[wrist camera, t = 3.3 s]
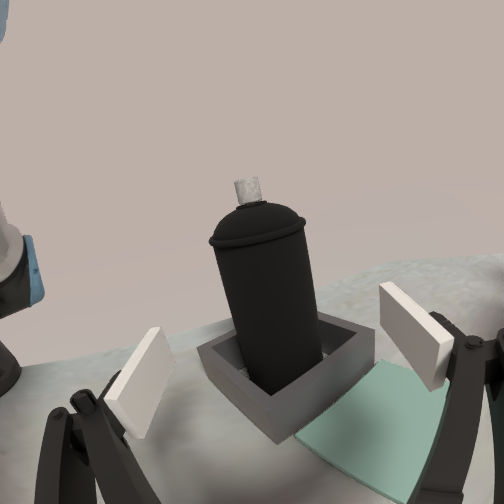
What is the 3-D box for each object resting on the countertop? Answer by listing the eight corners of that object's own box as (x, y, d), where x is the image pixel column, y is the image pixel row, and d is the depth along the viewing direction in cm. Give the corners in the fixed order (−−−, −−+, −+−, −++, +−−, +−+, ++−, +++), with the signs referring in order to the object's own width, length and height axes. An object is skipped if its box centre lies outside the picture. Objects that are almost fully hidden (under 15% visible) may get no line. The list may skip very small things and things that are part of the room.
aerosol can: (316, 407, 21) (275, 170, 16) (236, 397, 25) (175, 195, 20) (333, 354, 28) (305, 167, 23) (267, 351, 32) (227, 184, 27)
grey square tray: (208, 378, 29) (196, 347, 28) (293, 331, 35) (288, 301, 34) (277, 444, 18) (267, 412, 17) (374, 364, 24) (374, 329, 23)
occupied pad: (295, 438, 18) (294, 434, 18) (381, 363, 24) (381, 359, 24) (412, 510, 8) (414, 508, 8) (481, 397, 14) (483, 392, 14)
